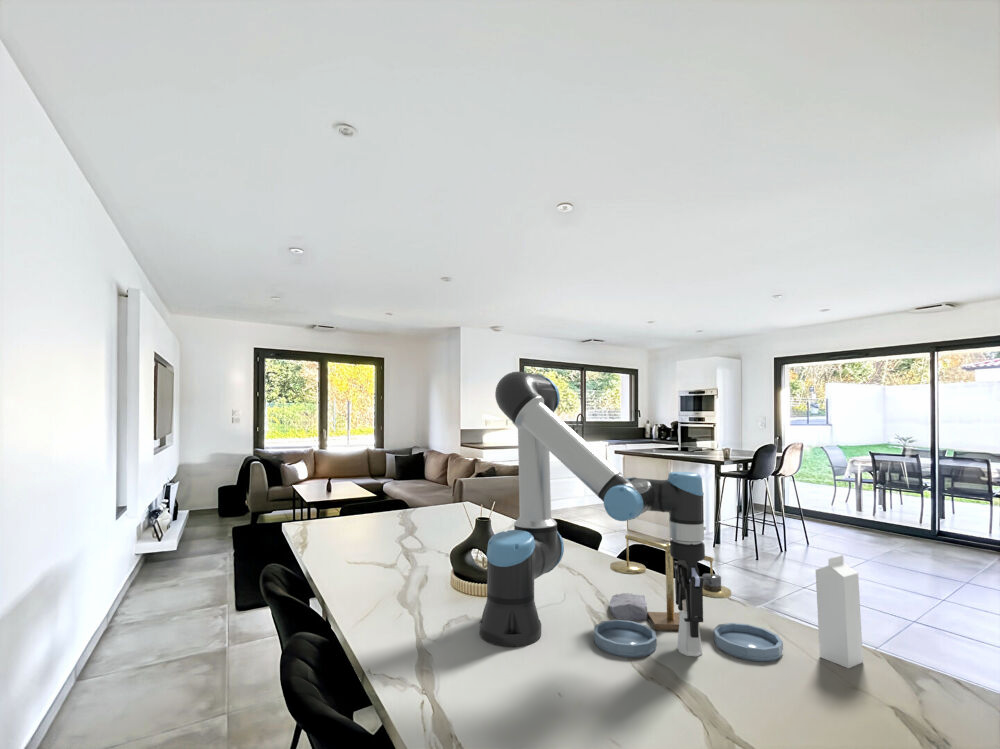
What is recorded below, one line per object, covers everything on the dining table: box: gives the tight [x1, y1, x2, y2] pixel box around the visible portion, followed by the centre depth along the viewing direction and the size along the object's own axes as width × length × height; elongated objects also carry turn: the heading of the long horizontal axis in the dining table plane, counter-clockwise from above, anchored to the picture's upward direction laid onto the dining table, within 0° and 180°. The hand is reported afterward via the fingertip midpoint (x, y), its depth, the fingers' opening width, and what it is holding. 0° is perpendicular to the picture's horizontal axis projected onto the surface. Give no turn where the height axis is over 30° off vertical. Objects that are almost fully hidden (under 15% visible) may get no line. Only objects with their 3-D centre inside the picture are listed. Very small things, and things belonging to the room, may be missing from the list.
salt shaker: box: [677, 599, 703, 658], centre depth 114 cm, size 5×5×11 cm
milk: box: [815, 554, 864, 669], centre depth 111 cm, size 6×6×22 cm
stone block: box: [609, 592, 648, 621], centre depth 137 cm, size 12×5×10 cm
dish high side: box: [593, 619, 657, 659], centre depth 118 cm, size 14×14×3 cm
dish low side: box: [712, 622, 784, 663], centre depth 116 cm, size 14×14×3 cm
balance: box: [609, 534, 732, 632], centre depth 130 cm, size 30×9×22 cm, turn 87°
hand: (689, 645), depth 114 cm, fingers closed on salt shaker, 4 cm apart
